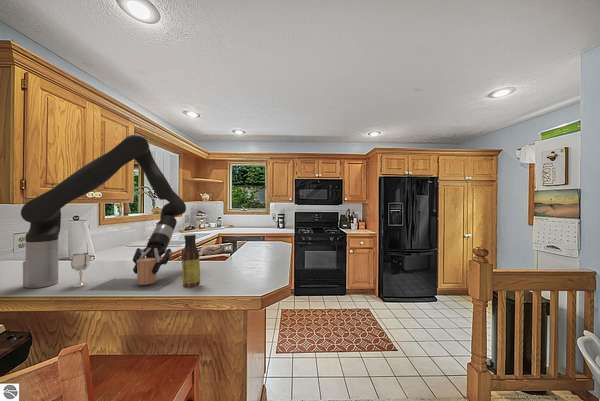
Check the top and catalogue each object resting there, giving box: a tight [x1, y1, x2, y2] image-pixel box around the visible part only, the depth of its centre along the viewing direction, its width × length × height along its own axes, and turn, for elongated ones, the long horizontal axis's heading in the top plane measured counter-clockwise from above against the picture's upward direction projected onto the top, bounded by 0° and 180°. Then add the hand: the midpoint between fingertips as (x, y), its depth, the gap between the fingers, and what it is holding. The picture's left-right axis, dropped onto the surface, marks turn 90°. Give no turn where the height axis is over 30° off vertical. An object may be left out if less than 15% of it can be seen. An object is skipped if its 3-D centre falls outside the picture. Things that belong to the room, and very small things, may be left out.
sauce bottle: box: [181, 233, 201, 288], centre depth 103 cm, size 7×6×20 cm
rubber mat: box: [87, 278, 177, 292], centre depth 104 cm, size 26×14×1 cm, turn 89°
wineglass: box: [70, 252, 91, 288], centre depth 104 cm, size 6×6×12 cm
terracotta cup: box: [136, 256, 157, 285], centre depth 104 cm, size 6×6×9 cm
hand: (144, 272), depth 102 cm, fingers closed on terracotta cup, 6 cm apart
